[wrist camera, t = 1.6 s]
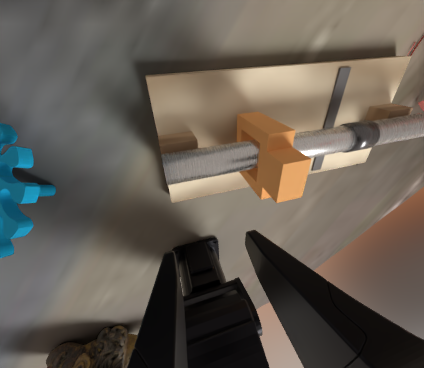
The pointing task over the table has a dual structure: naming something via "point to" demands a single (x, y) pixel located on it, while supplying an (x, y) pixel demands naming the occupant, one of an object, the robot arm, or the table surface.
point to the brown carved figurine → (96, 351)
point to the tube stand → (275, 117)
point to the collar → (273, 158)
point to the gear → (15, 191)
